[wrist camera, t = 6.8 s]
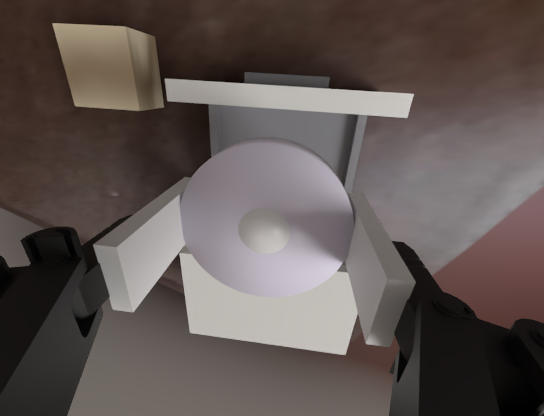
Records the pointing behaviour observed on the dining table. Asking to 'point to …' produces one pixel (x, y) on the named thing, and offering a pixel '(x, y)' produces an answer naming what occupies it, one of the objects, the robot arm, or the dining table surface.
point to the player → (271, 311)
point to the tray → (291, 113)
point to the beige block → (110, 66)
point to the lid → (267, 217)
